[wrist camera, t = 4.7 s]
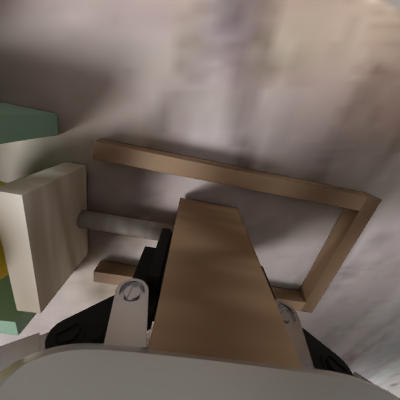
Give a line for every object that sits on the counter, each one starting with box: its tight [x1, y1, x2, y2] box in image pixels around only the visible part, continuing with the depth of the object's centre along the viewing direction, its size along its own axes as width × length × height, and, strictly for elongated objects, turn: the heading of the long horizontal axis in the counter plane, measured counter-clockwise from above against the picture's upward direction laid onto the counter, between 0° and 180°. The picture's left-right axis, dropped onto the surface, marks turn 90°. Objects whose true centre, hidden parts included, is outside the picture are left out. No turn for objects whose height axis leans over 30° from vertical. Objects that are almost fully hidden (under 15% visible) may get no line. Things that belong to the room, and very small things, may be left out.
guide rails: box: [93, 139, 381, 312], centre depth 15 cm, size 18×11×1 cm, turn 78°
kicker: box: [0, 162, 303, 368], centre depth 10 cm, size 11×7×10 cm, turn 78°
